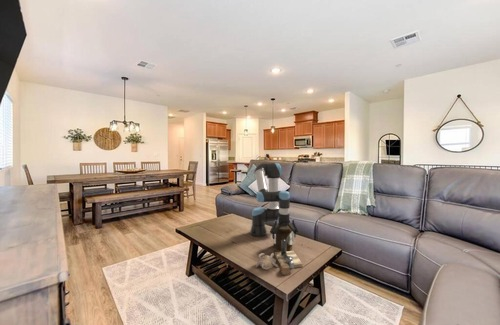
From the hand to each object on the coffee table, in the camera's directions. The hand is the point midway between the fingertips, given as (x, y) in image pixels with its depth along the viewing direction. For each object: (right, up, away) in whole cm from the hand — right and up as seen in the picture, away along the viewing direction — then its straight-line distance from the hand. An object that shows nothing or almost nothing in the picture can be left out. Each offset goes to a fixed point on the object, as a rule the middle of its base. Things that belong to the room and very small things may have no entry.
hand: (283, 242), depth 154 cm
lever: (+1, -10, -7) cm, 12 cm away
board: (+3, -12, -2) cm, 12 cm away
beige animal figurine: (-12, -13, -8) cm, 20 cm away
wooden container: (+2, -11, +17) cm, 20 cm away
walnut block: (-2, -13, -16) cm, 21 cm away
